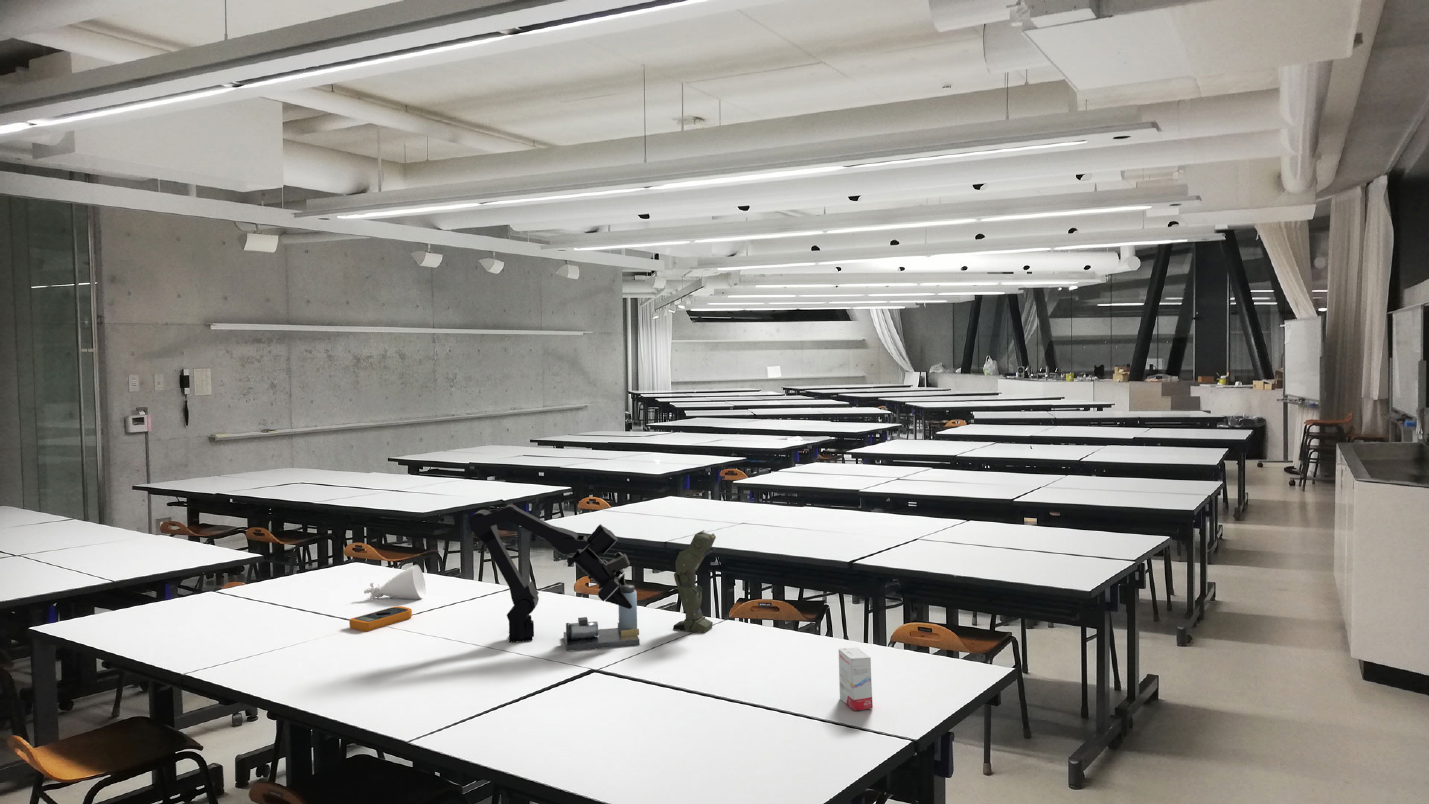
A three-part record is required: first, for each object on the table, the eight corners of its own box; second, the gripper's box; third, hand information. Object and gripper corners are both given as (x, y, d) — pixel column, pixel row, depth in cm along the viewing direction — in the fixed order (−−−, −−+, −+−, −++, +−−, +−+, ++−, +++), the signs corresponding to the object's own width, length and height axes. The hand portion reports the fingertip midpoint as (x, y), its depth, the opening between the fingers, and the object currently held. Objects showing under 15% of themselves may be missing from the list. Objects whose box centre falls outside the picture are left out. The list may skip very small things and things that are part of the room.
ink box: (873, 709, 207) (872, 657, 207) (852, 712, 206) (851, 659, 206) (858, 696, 216) (858, 646, 215) (838, 698, 215) (837, 647, 214)
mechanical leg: (659, 626, 272) (680, 528, 268) (670, 619, 279) (690, 524, 275) (702, 641, 268) (723, 542, 264) (711, 634, 274) (732, 538, 270)
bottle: (625, 635, 262) (624, 589, 261) (615, 631, 266) (614, 586, 265) (640, 631, 265) (640, 586, 265) (630, 627, 269) (629, 583, 269)
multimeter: (415, 618, 289) (415, 608, 289) (365, 633, 274) (365, 622, 274) (397, 615, 294) (396, 604, 294) (347, 629, 279) (347, 618, 279)
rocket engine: (360, 571, 312) (413, 558, 313) (374, 587, 321) (425, 574, 322) (359, 602, 305) (413, 589, 306) (373, 617, 314) (426, 604, 315)
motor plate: (566, 651, 253) (566, 625, 253) (563, 637, 266) (563, 613, 266) (641, 644, 258) (640, 619, 257) (634, 631, 270) (634, 607, 270)
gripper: (609, 552, 255) (650, 591, 256) (615, 539, 274) (653, 575, 274) (581, 581, 255) (622, 620, 256) (589, 566, 274) (627, 602, 274)
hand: (632, 603), depth 265 cm, fingers open, 9 cm apart
